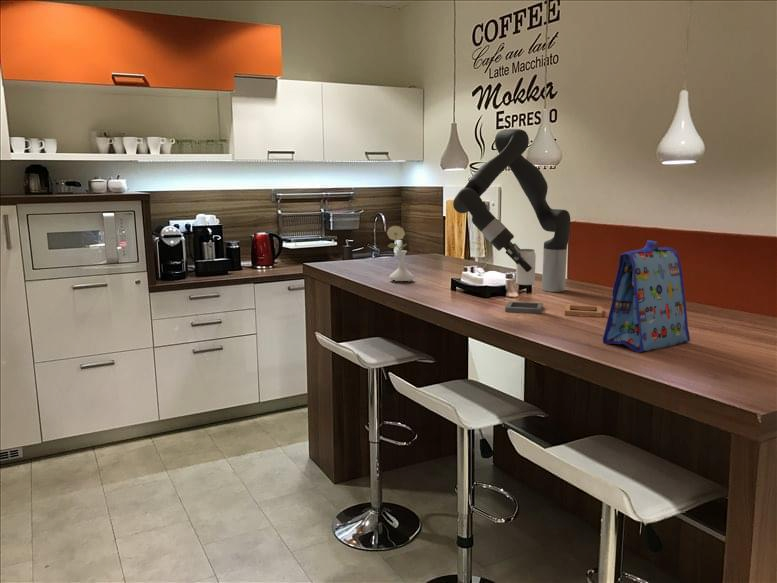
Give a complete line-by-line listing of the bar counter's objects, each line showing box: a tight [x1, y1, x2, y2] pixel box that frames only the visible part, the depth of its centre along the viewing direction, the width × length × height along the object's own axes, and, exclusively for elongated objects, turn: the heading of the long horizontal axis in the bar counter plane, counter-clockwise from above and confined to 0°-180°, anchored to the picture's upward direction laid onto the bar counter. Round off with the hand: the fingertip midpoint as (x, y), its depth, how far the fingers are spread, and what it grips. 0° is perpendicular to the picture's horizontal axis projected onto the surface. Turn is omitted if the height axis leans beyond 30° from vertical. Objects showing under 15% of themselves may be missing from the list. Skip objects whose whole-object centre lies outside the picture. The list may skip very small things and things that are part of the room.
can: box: [515, 248, 537, 286], centre depth 226 cm, size 6×6×12 cm
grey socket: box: [504, 300, 544, 314], centre depth 229 cm, size 12×12×2 cm
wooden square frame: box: [564, 303, 603, 318], centre depth 223 cm, size 12×12×2 cm
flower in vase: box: [386, 225, 415, 282], centre depth 288 cm, size 13×11×25 cm
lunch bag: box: [602, 239, 691, 353], centre depth 179 cm, size 22×14×29 cm, turn 123°
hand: (530, 268), depth 226 cm, fingers closed on can, 6 cm apart
